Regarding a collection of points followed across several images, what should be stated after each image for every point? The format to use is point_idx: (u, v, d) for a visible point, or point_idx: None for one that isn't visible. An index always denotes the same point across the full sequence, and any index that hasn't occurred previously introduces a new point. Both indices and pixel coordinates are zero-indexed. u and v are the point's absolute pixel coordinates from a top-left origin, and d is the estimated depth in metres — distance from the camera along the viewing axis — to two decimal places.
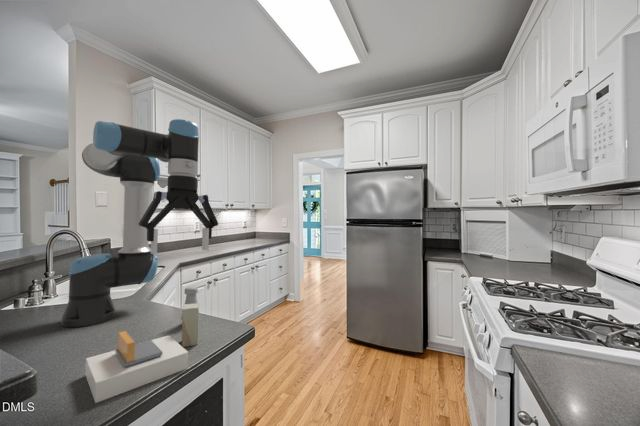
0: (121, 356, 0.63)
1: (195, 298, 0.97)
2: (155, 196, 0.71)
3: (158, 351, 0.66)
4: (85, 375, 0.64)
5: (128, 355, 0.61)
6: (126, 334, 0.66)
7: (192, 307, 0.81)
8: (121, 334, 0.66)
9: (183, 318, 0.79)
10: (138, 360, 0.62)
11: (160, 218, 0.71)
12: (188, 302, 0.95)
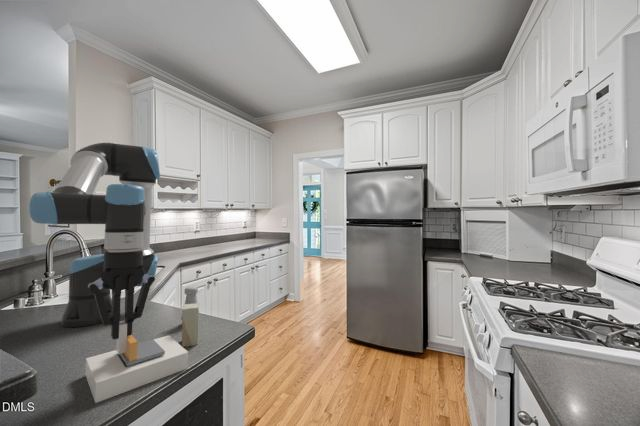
0: (124, 355, 0.64)
1: (195, 298, 0.97)
2: (91, 291, 0.60)
3: (160, 350, 0.66)
4: (85, 375, 0.64)
5: (131, 354, 0.61)
6: None
7: (192, 307, 0.81)
8: None
9: (183, 318, 0.79)
10: (140, 359, 0.62)
11: (117, 310, 0.62)
12: (188, 302, 0.95)
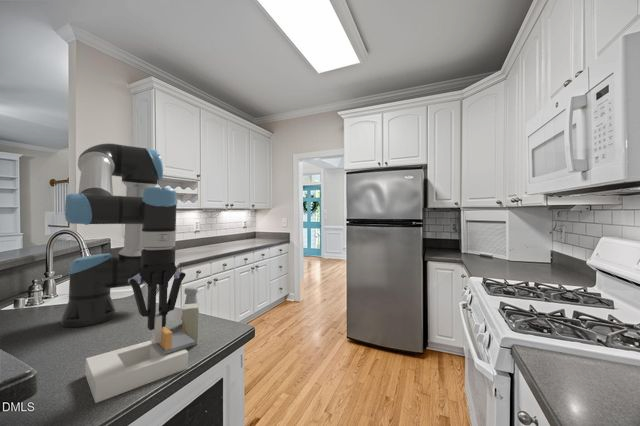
0: (159, 345, 0.69)
1: (195, 298, 0.97)
2: (131, 285, 0.65)
3: (191, 340, 0.72)
4: (85, 375, 0.64)
5: (166, 344, 0.67)
6: None
7: (192, 307, 0.81)
8: None
9: (183, 318, 0.79)
10: (175, 349, 0.68)
11: (153, 303, 0.68)
12: (188, 302, 0.95)
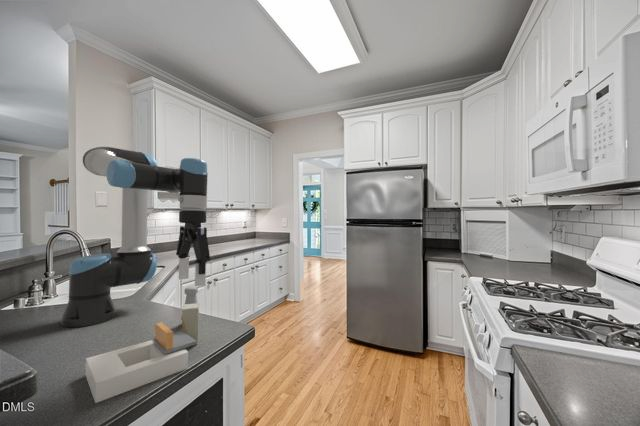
0: (160, 345, 0.69)
1: (195, 298, 0.97)
2: None
3: (192, 340, 0.72)
4: (85, 375, 0.64)
5: (167, 343, 0.67)
6: (163, 325, 0.72)
7: (192, 307, 0.81)
8: (158, 325, 0.72)
9: (183, 318, 0.79)
10: (176, 348, 0.68)
11: (181, 249, 0.85)
12: (188, 302, 0.95)
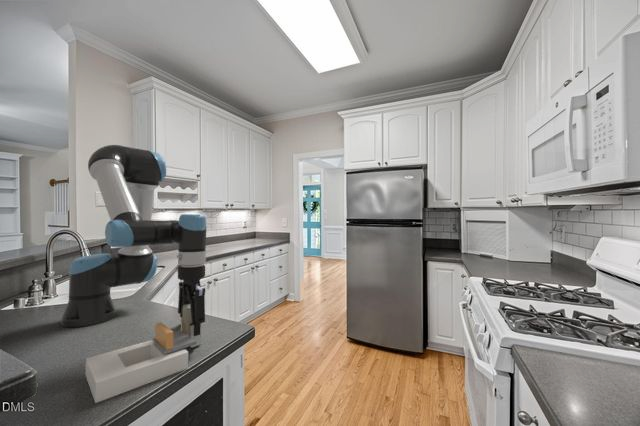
0: (160, 345, 0.69)
1: None
2: None
3: (192, 340, 0.72)
4: (85, 375, 0.64)
5: (167, 343, 0.67)
6: (163, 325, 0.72)
7: None
8: (158, 325, 0.72)
9: (183, 318, 0.79)
10: (176, 348, 0.68)
11: (182, 307, 0.84)
12: None
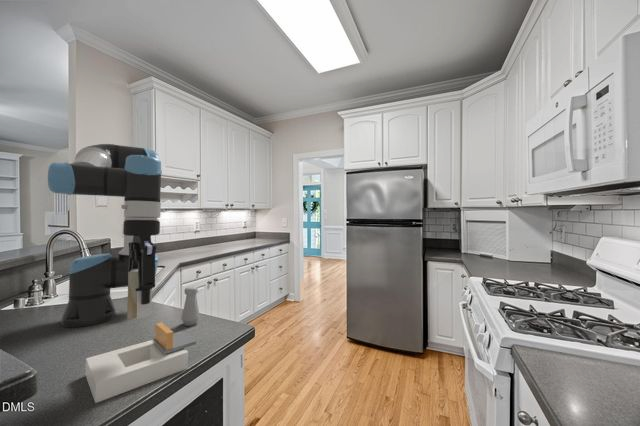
0: (160, 345, 0.69)
1: (195, 298, 0.97)
2: None
3: (192, 340, 0.72)
4: (85, 375, 0.64)
5: (167, 343, 0.67)
6: (163, 325, 0.72)
7: None
8: (158, 325, 0.72)
9: (129, 283, 0.64)
10: (176, 348, 0.68)
11: None
12: (188, 302, 0.95)
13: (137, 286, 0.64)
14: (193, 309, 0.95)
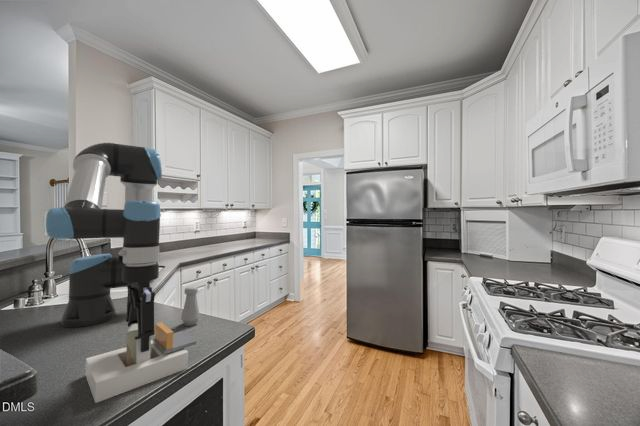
0: (160, 345, 0.69)
1: (195, 298, 0.97)
2: None
3: (192, 340, 0.72)
4: (85, 375, 0.64)
5: (167, 343, 0.67)
6: (163, 325, 0.72)
7: None
8: (158, 325, 0.72)
9: (128, 342, 0.63)
10: (176, 348, 0.68)
11: (129, 315, 0.68)
12: (188, 302, 0.95)
13: None
14: (193, 309, 0.95)
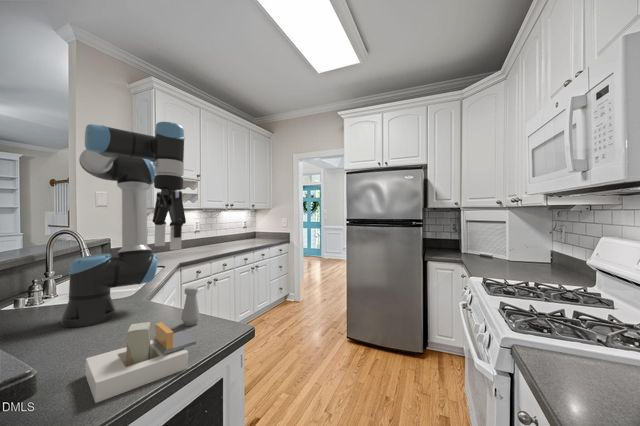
0: (160, 345, 0.69)
1: (195, 298, 0.97)
2: None
3: (192, 340, 0.72)
4: (85, 375, 0.64)
5: (167, 343, 0.67)
6: (163, 325, 0.72)
7: (140, 328, 0.65)
8: (158, 325, 0.72)
9: (128, 342, 0.63)
10: (176, 348, 0.68)
11: (157, 216, 0.83)
12: (188, 302, 0.95)
13: (136, 345, 0.64)
14: (193, 309, 0.95)
